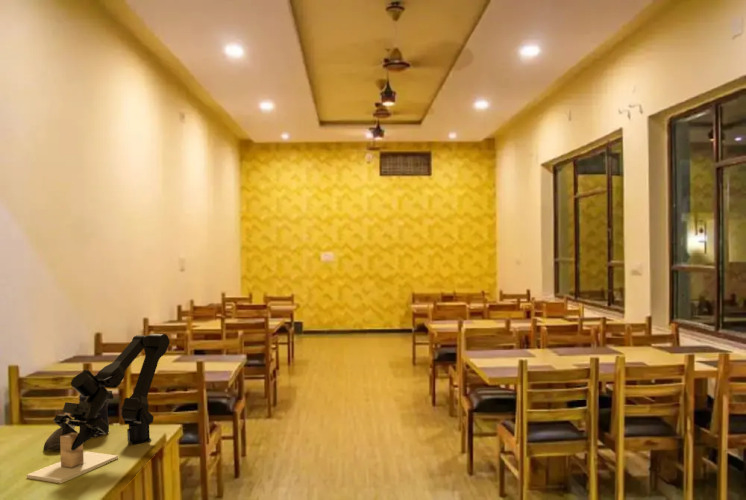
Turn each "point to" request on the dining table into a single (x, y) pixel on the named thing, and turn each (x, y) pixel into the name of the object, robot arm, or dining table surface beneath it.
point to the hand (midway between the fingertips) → (66, 448)
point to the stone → (53, 440)
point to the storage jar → (103, 416)
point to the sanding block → (70, 451)
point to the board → (63, 474)
